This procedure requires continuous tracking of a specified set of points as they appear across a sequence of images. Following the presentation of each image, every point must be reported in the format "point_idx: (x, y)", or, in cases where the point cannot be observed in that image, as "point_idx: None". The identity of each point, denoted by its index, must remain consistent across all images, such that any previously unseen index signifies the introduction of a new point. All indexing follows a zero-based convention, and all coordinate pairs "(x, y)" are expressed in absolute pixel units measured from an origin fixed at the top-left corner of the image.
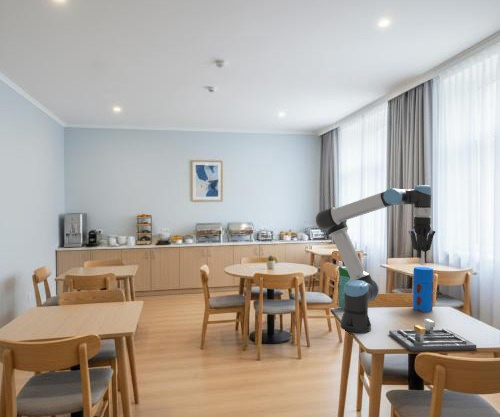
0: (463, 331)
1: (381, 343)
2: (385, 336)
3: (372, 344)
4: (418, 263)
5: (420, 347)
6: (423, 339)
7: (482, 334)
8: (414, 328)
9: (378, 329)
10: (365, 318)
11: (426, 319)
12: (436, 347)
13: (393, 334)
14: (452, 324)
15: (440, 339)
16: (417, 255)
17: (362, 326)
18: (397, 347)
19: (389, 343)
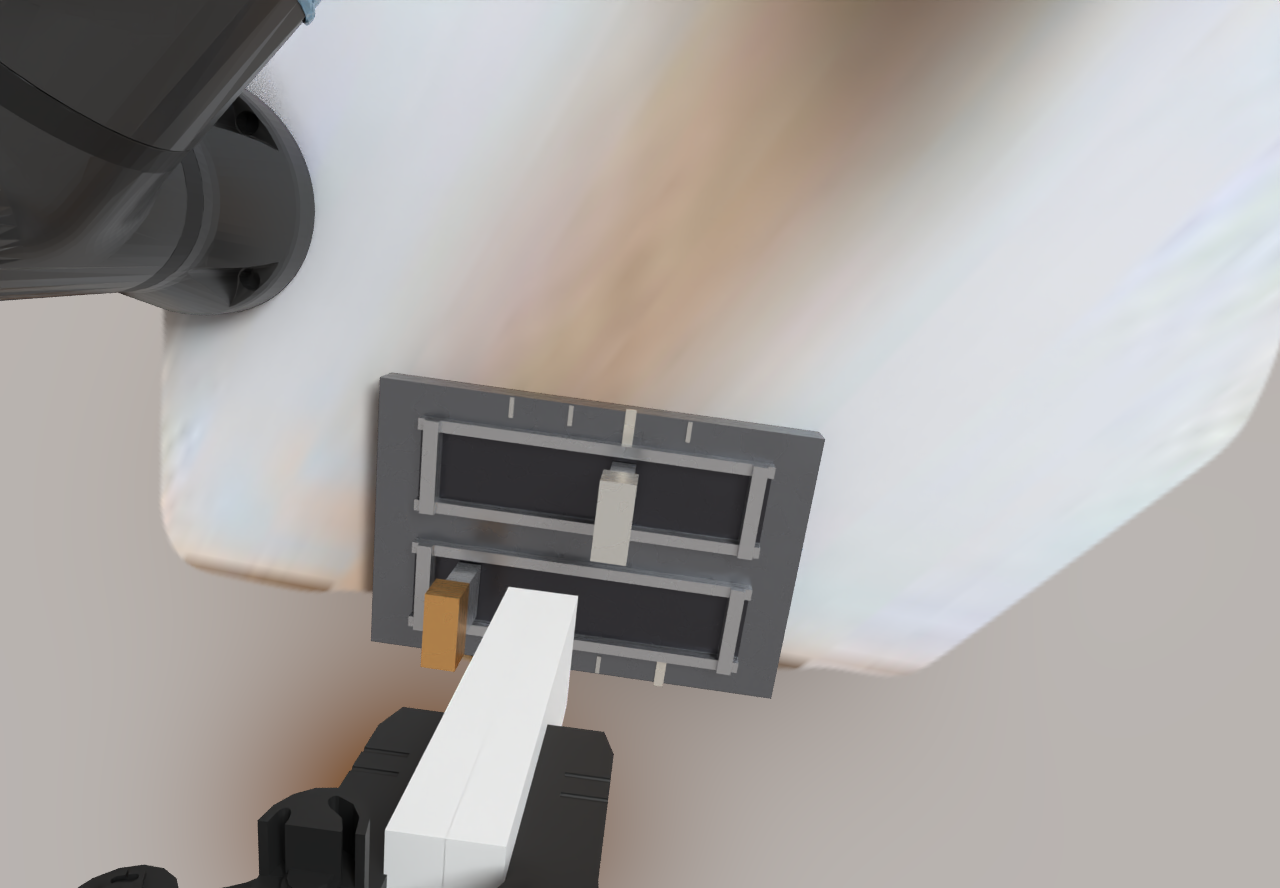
0: (971, 416)
1: (268, 500)
2: (349, 399)
3: (207, 503)
4: (504, 595)
5: None
6: (470, 624)
7: (1049, 493)
8: (432, 587)
9: (366, 259)
10: (182, 290)
11: (605, 501)
12: None
13: (380, 437)
14: (1034, 259)
15: (619, 591)
16: (364, 765)
17: (186, 311)
18: (334, 570)
19: (317, 509)
